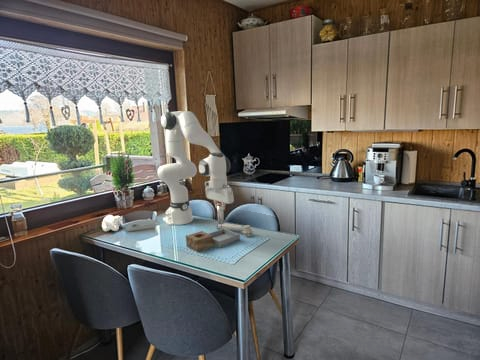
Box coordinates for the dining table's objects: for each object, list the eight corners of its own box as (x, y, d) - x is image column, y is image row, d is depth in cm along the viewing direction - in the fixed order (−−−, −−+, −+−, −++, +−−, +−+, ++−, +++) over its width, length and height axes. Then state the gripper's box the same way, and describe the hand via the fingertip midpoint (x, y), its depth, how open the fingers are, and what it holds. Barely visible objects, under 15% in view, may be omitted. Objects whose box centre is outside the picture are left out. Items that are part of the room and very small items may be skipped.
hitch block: (186, 246, 164) (185, 235, 163) (202, 241, 171) (201, 230, 170) (197, 252, 157) (196, 240, 156) (213, 246, 163) (212, 235, 162)
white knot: (97, 233, 191) (95, 219, 189) (109, 226, 202) (107, 213, 201) (113, 233, 188) (112, 219, 187) (124, 227, 200) (123, 213, 198)
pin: (216, 223, 169) (215, 203, 167) (221, 222, 171) (220, 202, 169) (220, 224, 166) (219, 204, 164) (225, 223, 169) (224, 203, 166)
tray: (203, 240, 171) (203, 234, 171) (223, 234, 180) (223, 228, 180) (219, 247, 161) (219, 241, 160) (239, 240, 170) (239, 234, 169)
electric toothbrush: (221, 221, 192) (253, 223, 176) (222, 231, 192) (255, 234, 176) (215, 223, 188) (247, 225, 172) (217, 234, 188) (249, 237, 172)
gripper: (236, 185, 159) (237, 211, 161) (212, 180, 174) (213, 204, 177) (226, 187, 155) (227, 214, 157) (202, 182, 170) (204, 206, 173)
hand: (220, 209), depth 167 cm, fingers closed on pin, 3 cm apart
